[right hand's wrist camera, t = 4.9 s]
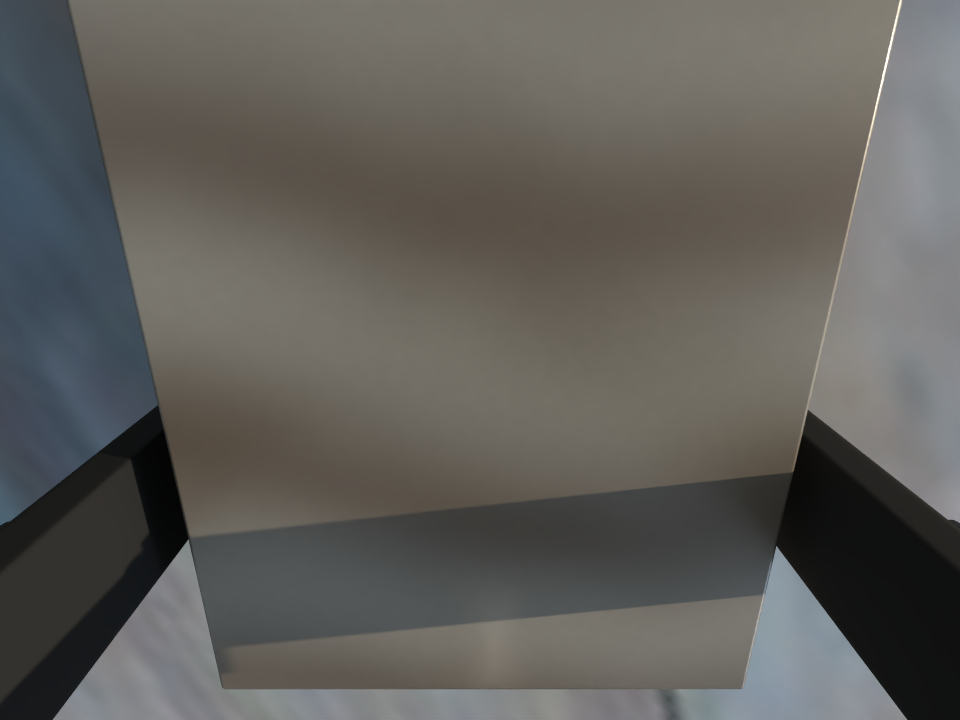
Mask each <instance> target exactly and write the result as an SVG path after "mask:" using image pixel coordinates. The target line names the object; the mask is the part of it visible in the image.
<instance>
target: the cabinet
mask: <svg viewBox="0 0 960 720" xmlns="http://www.w3.org/2000/svg"><path fill="white" fill-rule="evenodd" d="M67 4H68V9H69V13H70V18H71V22H72V27H73V31H74V35H75V40H76V44H77V49H78V53H79V57H80V62H81V66H82V71H83V75H84V80H85V84H86V88H87V93H88V97H89V102H90V106H91V110H92V115H93V119H94V124H95V128H96V133H97V137H98V141H99V146H100V150H101V155H102V159H103V163H104V168H105V172H106V177H107V181H108V186H109V190H110V194H111V199H112V203H113V208H114V212H115V216H116V221H117V225H118V230H119V234H120V239H121V243H122V247H123V252H124V256H125V261H126V265H127V269H128V274H129V278H130V283H131V287H132V291H133V296H134V300H135V305H136V309H137V314H138V318H139V322H140V327H141V331H142V336H143V340H144V344H145V349H146V353H147V358H148V362H149V367H150V371H151V375H152V380H153V384H154V389H155V393H156V397H157V402H158V406H159V411H160V415H161V420H162V424H163V428H164V433H165V437H166V442H167V446H168V450H169V455H170V459H171V464H172V468H173V473H174V477H175V481H176V486H177V490H178V495H179V499H180V503H181V508H182V512H183V517H184V521H185V526H186V530H187V534H188V539H189V543H190V548H191V552H192V556H193V561H194V565H195V570H196V574H197V579H198V583H199V587H200V592H201V596H202V601H203V605H204V609H205V614H206V618H207V623H208V627H209V632H210V636H211V640H212V645H213V649H214V654H215V658H216V662H217V667H218V671H219V676H220V680H221V685H222V688H224V689H742V688H743V687H744V683H745V679H746V674H747V670H748V666H749V662H750V657H751V653H752V649H753V644H754V640H755V636H756V631H757V627H758V623H759V618H760V614H761V610H762V605H763V601H764V597H765V592H766V588H767V584H768V579H769V575H770V571H771V566H772V562H773V558H774V553H775V549H776V545H777V541H778V536H779V532H780V528H781V523H782V519H783V515H784V510H785V506H786V502H787V497H788V493H789V489H790V484H791V480H792V476H793V471H794V467H795V463H796V458H797V454H798V450H799V445H800V441H801V437H802V432H803V428H804V424H805V420H806V415H807V411H808V407H809V402H810V398H811V394H812V389H813V385H814V381H815V376H816V372H817V368H818V363H819V359H820V355H821V350H822V346H823V342H824V337H825V333H826V329H827V324H828V320H829V316H830V311H831V307H832V303H833V299H834V294H835V290H836V286H837V281H838V277H839V273H840V268H841V264H842V260H843V255H844V251H845V247H846V242H847V238H848V234H849V229H850V225H851V221H852V216H853V212H854V208H855V203H856V199H857V195H858V190H859V186H860V182H861V178H862V173H863V169H864V165H865V160H866V156H867V152H868V147H869V143H870V139H871V134H872V130H873V126H874V121H875V117H876V113H877V108H878V104H879V100H880V95H881V91H882V87H883V82H884V78H885V74H886V69H887V65H888V61H889V57H890V52H891V48H892V44H893V39H894V35H895V31H896V26H897V22H898V18H899V13H900V9H901V5H902V0H67Z"/></svg>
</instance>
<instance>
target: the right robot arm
mask: <svg viewBox="0 0 960 720" xmlns="http://www.w3.org/2000/svg"><path fill="white" fill-rule="evenodd" d="M187 541H188V534H187V530H186V526H185V521H184V517H183V512H182V508H181V503H180V499H179V495H178V490H177V486H176V481H175V477H174V473H173V468H172V464H171V459H170V455H169V450H168V446H167V442H166V437H165V433H164V428H163V424H162V420H161V415H160V411H159V406H156V407H155V408H154V409H153V410H151V411H150V412H149V413H148V414H146V415H145V416H144V417H142V418H141V419H140V420H139V421H137V422H136V423H135V424H134V425H132V426H131V427H130V428H128V429H127V430H126V431H125V432H123V433H122V434H121V435H120V436H118V437H117V438H116V439H114V440H113V441H112V442H111V443H109V444H108V445H107V446H106V447H104V448H103V449H102V450H100V451H99V452H98V453H97V454H95V455H94V456H93V457H92V458H90V459H89V460H88V461H86V462H85V463H84V464H83V465H81V466H80V467H79V468H78V469H76V470H75V471H74V472H72V473H71V474H70V475H69V476H67V477H66V478H65V479H64V480H62V481H61V482H60V483H59V484H57V485H56V486H55V487H53V488H52V489H51V490H50V491H48V492H47V493H46V494H45V495H43V496H42V497H41V498H39V499H38V500H37V501H36V502H34V503H33V504H32V505H31V506H29V507H28V508H27V509H25V510H24V511H23V512H22V513H20V514H19V515H18V516H17V517H15V518H14V519H13V520H11V521H10V522H6V523H4V524H2V525H0V720H53V718H54V717H55V716H56V714H57V713H58V712H59V710H60V709H61V708H62V707H63V705H64V704H65V703H66V701H67V700H68V699H69V697H70V696H71V695H72V693H73V692H74V691H75V689H76V688H77V687H78V685H79V684H80V683H81V681H82V680H83V679H84V677H85V676H86V675H87V673H88V672H89V671H90V669H91V668H92V667H93V665H94V664H95V663H96V661H97V660H98V659H99V657H100V656H101V655H102V653H103V652H104V651H105V649H106V648H107V647H108V645H109V644H110V643H111V641H112V640H113V639H114V637H115V636H116V635H117V633H118V632H119V631H120V629H121V628H122V627H123V626H124V624H125V623H126V622H127V620H128V619H129V618H130V616H131V615H132V614H133V612H134V611H135V610H136V608H137V607H138V606H139V604H140V603H141V602H142V600H143V599H144V598H145V596H146V595H147V594H148V592H149V591H150V590H151V588H152V587H153V586H154V584H155V583H156V582H157V580H158V579H159V578H160V576H161V575H162V574H163V572H164V571H165V570H166V568H167V567H168V566H169V564H170V563H171V562H172V560H173V559H174V558H175V556H176V555H177V554H178V552H179V551H180V550H181V548H182V547H183V546H184V544H185V543H186V542H187ZM776 546H777V547H778V548H779V550H780V551H781V552H782V554H783V555H784V556H785V558H786V559H787V560H788V562H789V563H790V564H791V566H792V567H793V568H794V570H795V571H796V572H797V574H798V575H799V576H800V578H801V579H802V580H803V582H804V583H805V584H806V586H807V587H808V588H809V590H810V591H811V592H812V594H813V595H814V596H815V598H816V599H817V600H818V602H819V603H820V604H821V606H822V607H823V608H824V610H825V611H826V612H827V614H828V615H829V616H830V618H831V619H832V620H833V622H834V623H835V624H836V626H837V627H838V628H839V629H840V631H841V632H842V633H843V635H844V636H845V637H846V639H847V640H848V641H849V643H850V644H851V645H852V647H853V648H854V649H855V651H856V652H857V653H858V655H859V656H860V657H861V659H862V660H863V661H864V663H865V664H866V665H867V667H868V668H869V669H870V671H871V672H872V673H873V675H874V676H875V677H876V679H877V680H878V681H879V683H880V684H881V685H882V687H883V688H884V689H885V691H886V692H887V693H888V695H889V696H890V697H891V699H892V700H893V701H894V703H895V704H896V705H897V707H898V708H899V709H900V710H901V712H902V713H903V714H904V716H905V717H906V718H907V720H960V523H959V522H957V521H955V520H947V519H946V518H945V517H943V516H942V515H941V514H940V513H938V512H937V511H936V510H935V509H933V508H932V507H931V506H929V505H928V504H927V503H926V502H924V501H923V500H922V499H921V498H919V497H918V496H917V495H915V494H914V493H913V492H912V491H910V490H909V489H908V488H907V487H905V486H904V485H903V484H901V483H900V482H899V481H898V480H896V479H895V478H894V477H893V476H891V475H890V474H889V473H888V472H886V471H885V470H884V469H882V468H881V467H880V466H879V465H877V464H876V463H875V462H874V461H872V460H871V459H870V458H868V457H867V456H866V455H865V454H863V453H862V452H861V451H860V450H858V449H857V448H856V447H854V446H853V445H852V444H851V443H849V442H848V441H847V440H846V439H844V438H843V437H842V436H840V435H839V434H838V433H837V432H835V431H834V430H833V429H832V428H830V427H829V426H828V425H826V424H825V423H824V422H823V421H821V420H820V419H819V418H818V417H816V416H815V415H814V414H812V413H811V412H810V411H809V410H808V411H807V415H806V420H805V424H804V428H803V432H802V437H801V441H800V445H799V450H798V454H797V458H796V463H795V467H794V471H793V476H792V480H791V484H790V489H789V493H788V497H787V502H786V506H785V510H784V515H783V519H782V523H781V528H780V532H779V536H778V541H777V545H776Z"/></svg>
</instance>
